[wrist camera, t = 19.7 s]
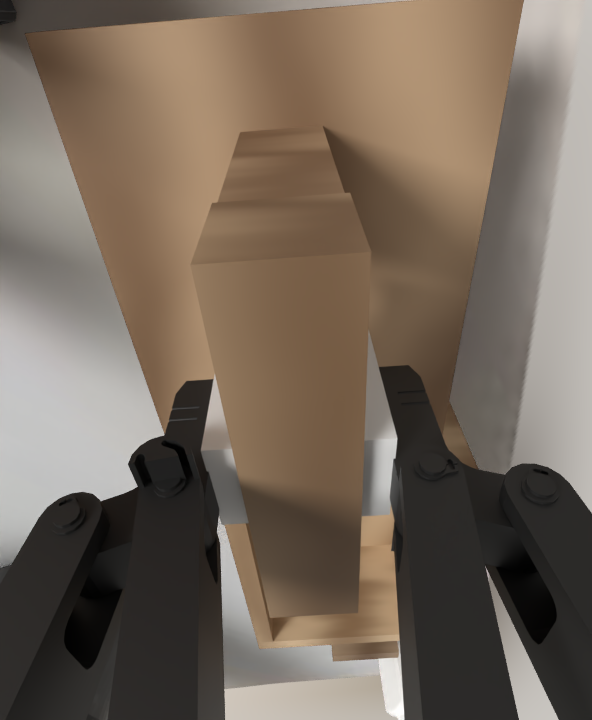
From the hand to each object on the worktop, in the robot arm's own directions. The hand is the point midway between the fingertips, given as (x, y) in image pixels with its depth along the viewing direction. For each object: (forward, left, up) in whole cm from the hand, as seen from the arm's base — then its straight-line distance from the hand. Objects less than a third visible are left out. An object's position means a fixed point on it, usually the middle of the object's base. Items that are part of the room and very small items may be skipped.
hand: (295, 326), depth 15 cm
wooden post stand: (0, 0, -3) cm, 3 cm away
